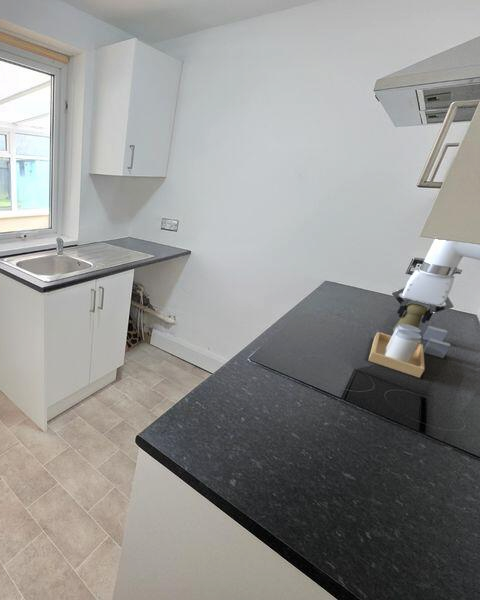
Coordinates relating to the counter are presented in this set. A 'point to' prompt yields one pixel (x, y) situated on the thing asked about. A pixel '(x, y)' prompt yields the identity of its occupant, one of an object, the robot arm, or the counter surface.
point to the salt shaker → (403, 345)
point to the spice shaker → (403, 327)
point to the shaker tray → (412, 368)
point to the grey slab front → (436, 348)
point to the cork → (412, 315)
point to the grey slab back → (434, 333)
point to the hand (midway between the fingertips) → (411, 318)
